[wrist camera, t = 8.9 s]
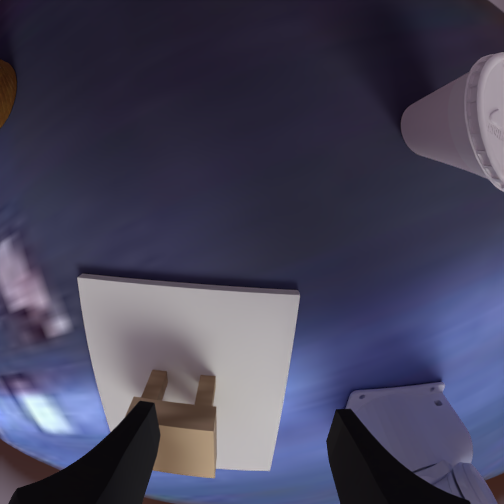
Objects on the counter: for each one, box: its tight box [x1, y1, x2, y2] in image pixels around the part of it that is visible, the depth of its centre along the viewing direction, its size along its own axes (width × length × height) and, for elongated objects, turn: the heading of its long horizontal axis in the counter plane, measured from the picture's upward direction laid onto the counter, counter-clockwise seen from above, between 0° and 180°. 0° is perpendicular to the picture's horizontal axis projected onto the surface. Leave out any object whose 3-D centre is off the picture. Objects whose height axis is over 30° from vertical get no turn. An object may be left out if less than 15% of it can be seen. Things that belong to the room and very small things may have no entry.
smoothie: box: [401, 52, 504, 192], centre depth 11 cm, size 6×6×14 cm
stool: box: [125, 370, 217, 478], centre depth 20 cm, size 5×5×6 cm
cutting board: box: [77, 273, 300, 471], centre depth 23 cm, size 15×19×1 cm
